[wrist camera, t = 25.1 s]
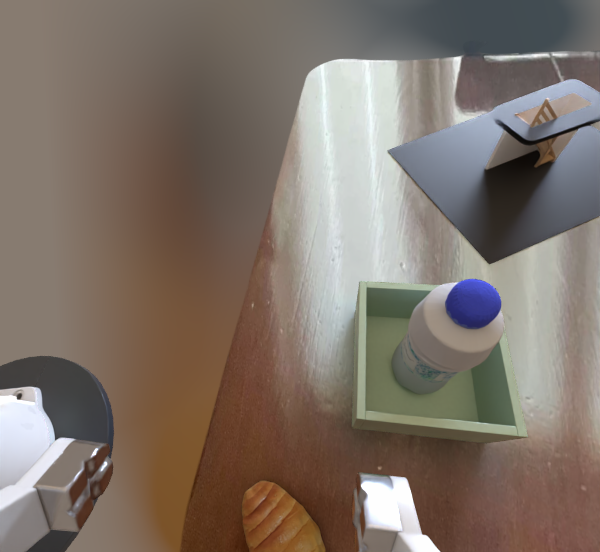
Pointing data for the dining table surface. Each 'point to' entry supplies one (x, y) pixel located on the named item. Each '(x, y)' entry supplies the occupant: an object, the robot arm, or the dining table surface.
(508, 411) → the open storage bin
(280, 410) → the dining table surface
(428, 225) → the dining table surface
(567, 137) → the architectural model
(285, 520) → the pastry
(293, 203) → the dining table surface
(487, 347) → the bottle
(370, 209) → the dining table surface
